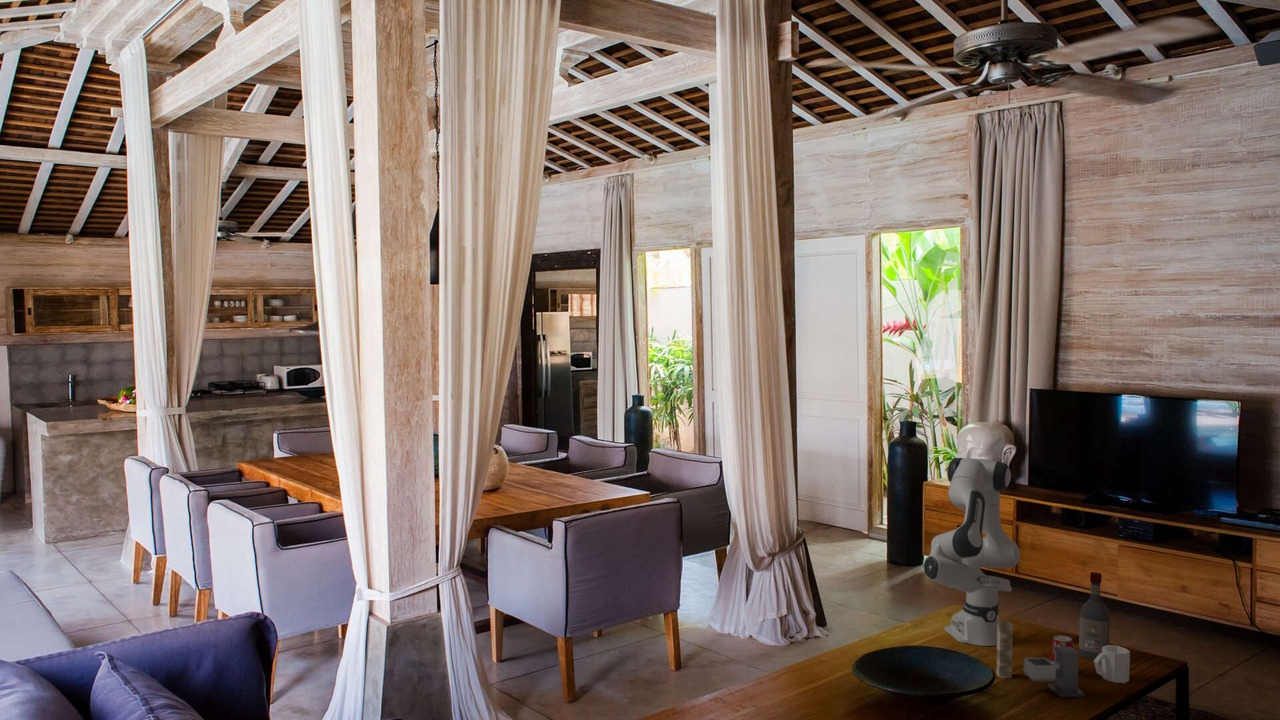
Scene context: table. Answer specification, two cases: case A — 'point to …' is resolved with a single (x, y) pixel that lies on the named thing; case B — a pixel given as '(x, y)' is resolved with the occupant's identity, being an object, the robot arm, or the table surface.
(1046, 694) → the table surface
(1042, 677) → the cup bracket
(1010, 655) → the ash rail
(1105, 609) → the liquor
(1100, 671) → the mug
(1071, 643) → the soda can
